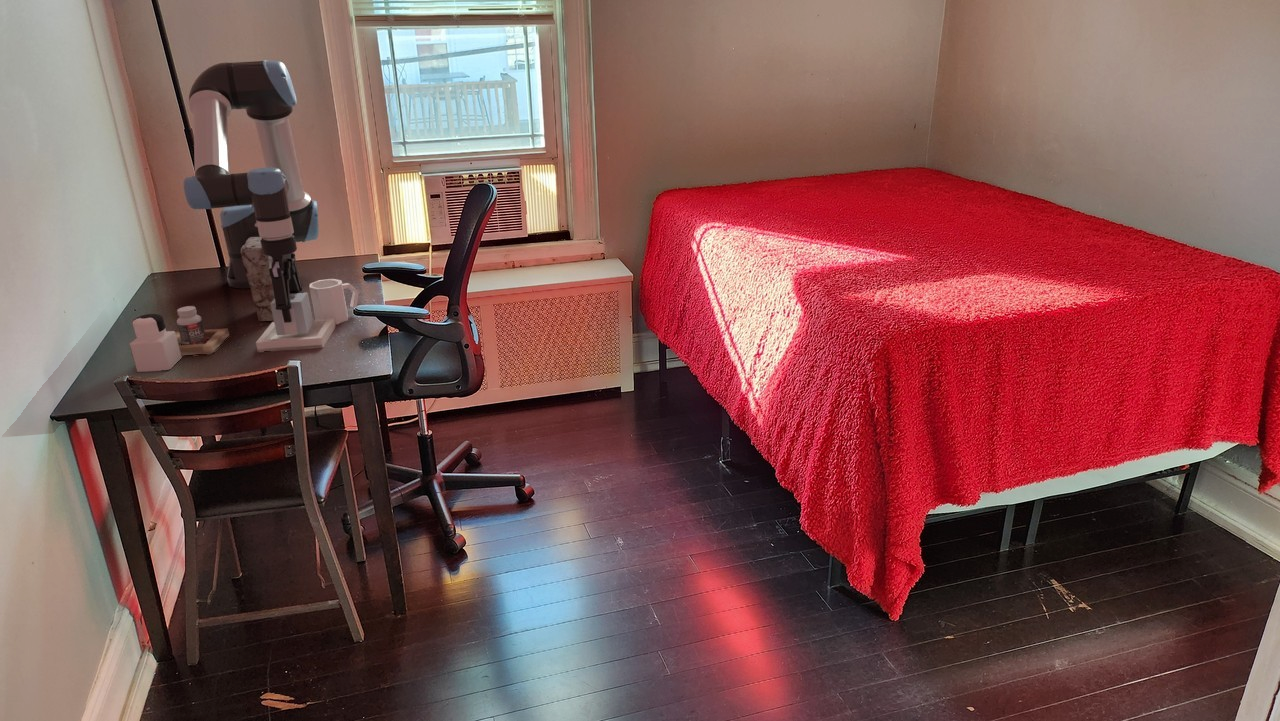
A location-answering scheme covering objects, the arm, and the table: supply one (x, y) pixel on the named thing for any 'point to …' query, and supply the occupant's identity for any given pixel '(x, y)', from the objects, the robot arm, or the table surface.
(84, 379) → the table surface
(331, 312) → the mug
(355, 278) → the table surface
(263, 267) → the stone block
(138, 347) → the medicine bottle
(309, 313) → the blue-grey block
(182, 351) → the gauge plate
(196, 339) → the pill bottle
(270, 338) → the tray
